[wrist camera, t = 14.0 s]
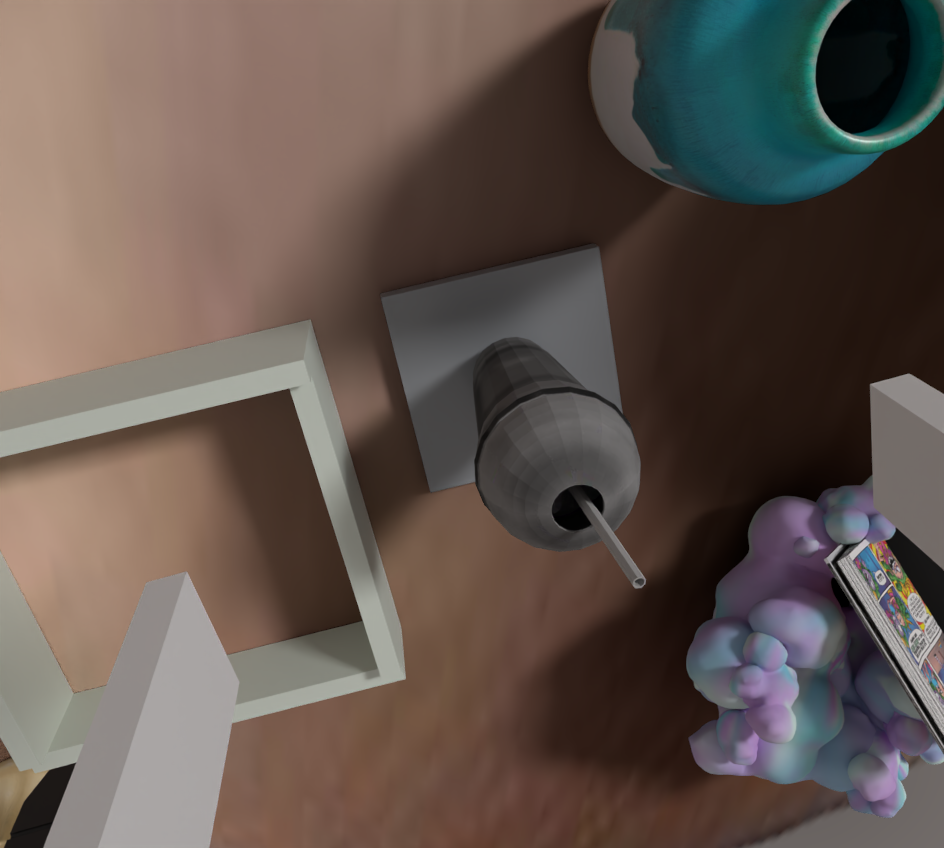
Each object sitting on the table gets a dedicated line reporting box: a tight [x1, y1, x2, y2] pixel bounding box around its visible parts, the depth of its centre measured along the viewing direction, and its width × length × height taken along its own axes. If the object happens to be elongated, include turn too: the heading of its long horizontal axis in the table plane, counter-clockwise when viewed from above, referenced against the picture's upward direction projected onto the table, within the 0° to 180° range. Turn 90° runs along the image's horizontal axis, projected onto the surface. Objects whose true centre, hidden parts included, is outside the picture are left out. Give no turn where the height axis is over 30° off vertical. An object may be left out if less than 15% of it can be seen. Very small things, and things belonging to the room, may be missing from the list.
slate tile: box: [380, 243, 623, 492], centre depth 47 cm, size 12×12×1 cm
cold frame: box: [0, 319, 406, 773], centre depth 46 cm, size 21×22×7 cm
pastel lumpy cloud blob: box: [686, 475, 944, 818], centre depth 50 cm, size 20×22×18 cm
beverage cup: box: [473, 337, 646, 588], centre depth 38 cm, size 7×7×20 cm
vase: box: [588, 0, 944, 205], centre depth 34 cm, size 11×11×19 cm
